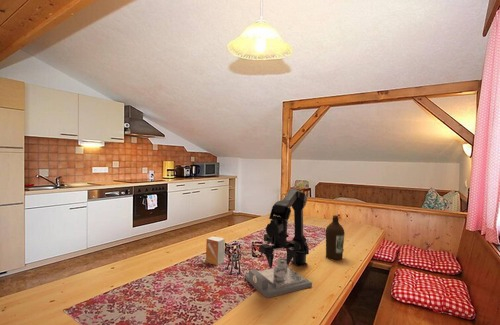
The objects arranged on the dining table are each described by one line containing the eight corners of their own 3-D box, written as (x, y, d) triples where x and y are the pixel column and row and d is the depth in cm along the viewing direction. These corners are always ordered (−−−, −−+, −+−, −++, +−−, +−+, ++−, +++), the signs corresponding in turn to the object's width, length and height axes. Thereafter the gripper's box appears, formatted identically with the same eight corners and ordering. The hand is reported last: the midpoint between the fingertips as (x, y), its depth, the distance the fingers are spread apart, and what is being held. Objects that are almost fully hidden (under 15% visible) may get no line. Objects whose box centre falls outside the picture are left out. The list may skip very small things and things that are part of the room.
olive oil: (321, 256, 162) (322, 214, 161) (332, 253, 167) (334, 213, 167) (335, 262, 153) (337, 218, 152) (347, 258, 158) (349, 216, 158)
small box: (205, 262, 146) (206, 238, 146) (212, 258, 152) (213, 235, 151) (217, 265, 142) (218, 241, 142) (224, 262, 148) (225, 238, 148)
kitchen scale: (285, 269, 140) (286, 259, 140) (311, 286, 122) (312, 274, 122) (244, 278, 128) (244, 266, 128) (265, 298, 111) (266, 285, 111)
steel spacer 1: (283, 266, 136) (283, 257, 136) (289, 270, 132) (289, 260, 132) (275, 268, 134) (275, 258, 134) (280, 272, 129) (281, 262, 129)
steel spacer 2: (280, 277, 124) (280, 266, 124) (286, 281, 120) (287, 270, 120) (271, 279, 122) (271, 267, 122) (277, 283, 118) (277, 272, 117)
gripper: (286, 225, 132) (285, 257, 132) (253, 229, 123) (252, 263, 123) (301, 231, 122) (300, 265, 122) (266, 235, 113) (265, 272, 114)
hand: (279, 266), depth 121 cm, fingers open, 9 cm apart
